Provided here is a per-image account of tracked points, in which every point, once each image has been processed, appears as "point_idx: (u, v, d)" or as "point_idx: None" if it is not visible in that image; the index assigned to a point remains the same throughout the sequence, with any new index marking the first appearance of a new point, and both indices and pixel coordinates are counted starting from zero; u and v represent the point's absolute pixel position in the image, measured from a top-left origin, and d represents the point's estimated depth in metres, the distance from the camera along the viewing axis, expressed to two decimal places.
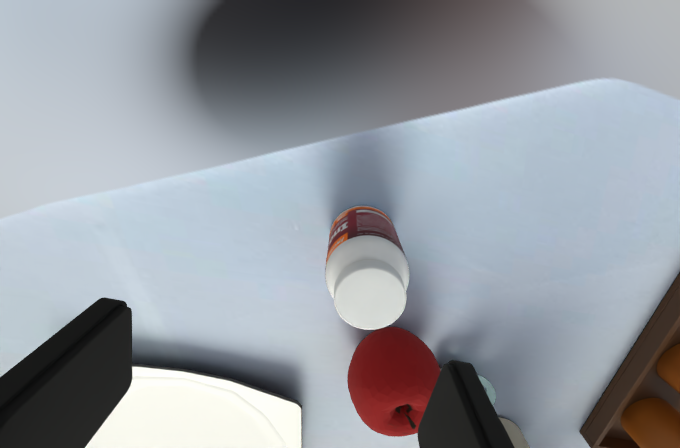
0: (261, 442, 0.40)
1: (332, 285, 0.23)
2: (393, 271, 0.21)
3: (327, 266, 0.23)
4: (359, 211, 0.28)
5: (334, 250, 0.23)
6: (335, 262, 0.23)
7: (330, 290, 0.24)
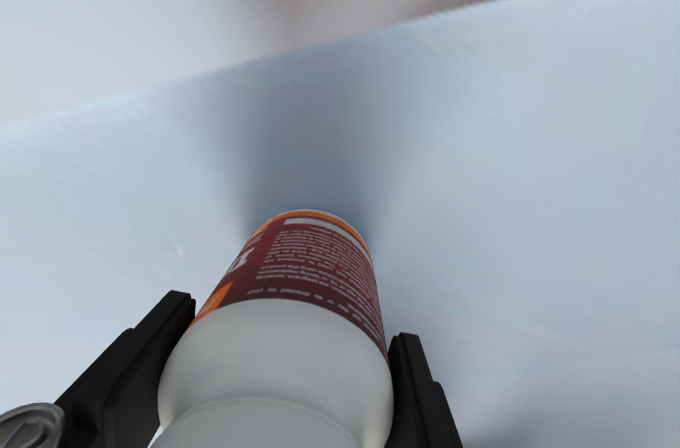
0: None
1: None
2: None
3: (159, 384, 0.08)
4: (290, 222, 0.13)
5: (180, 338, 0.08)
6: (169, 383, 0.08)
7: None
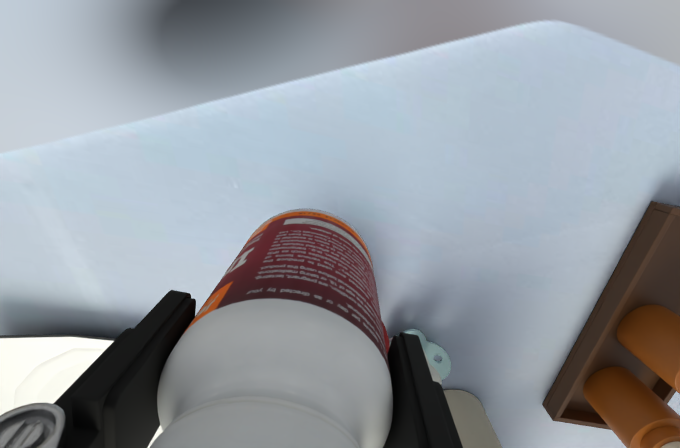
0: None
1: None
2: None
3: (159, 384, 0.08)
4: (289, 222, 0.13)
5: (180, 338, 0.08)
6: (168, 383, 0.08)
7: None
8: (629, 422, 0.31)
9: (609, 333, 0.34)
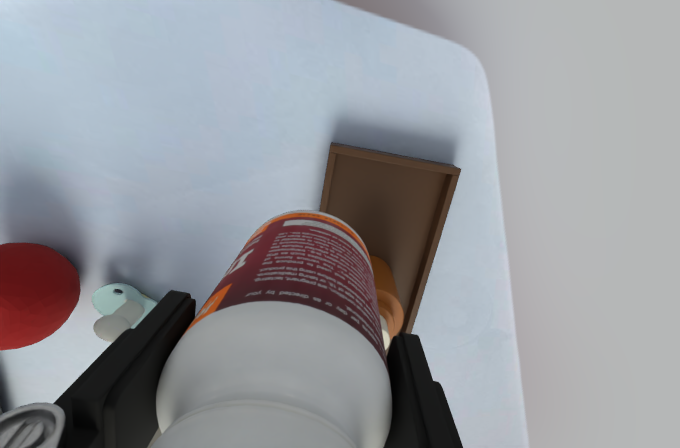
0: None
1: None
2: None
3: (158, 387, 0.08)
4: (289, 224, 0.13)
5: (179, 341, 0.08)
6: (167, 386, 0.08)
7: None
8: None
9: None
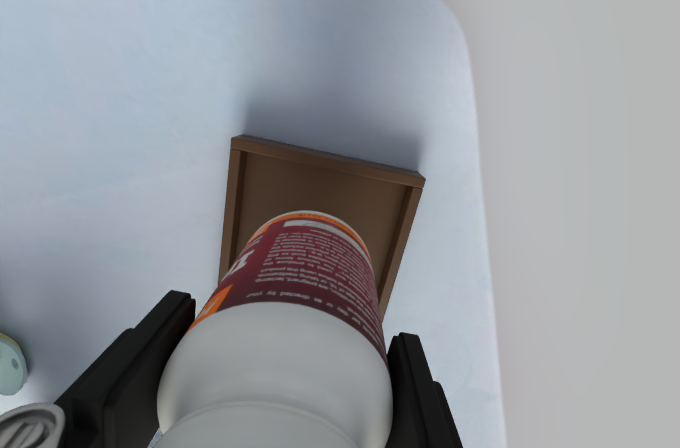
0: None
1: None
2: None
3: (159, 388, 0.08)
4: (289, 224, 0.13)
5: (180, 342, 0.08)
6: (168, 386, 0.08)
7: None
8: None
9: None
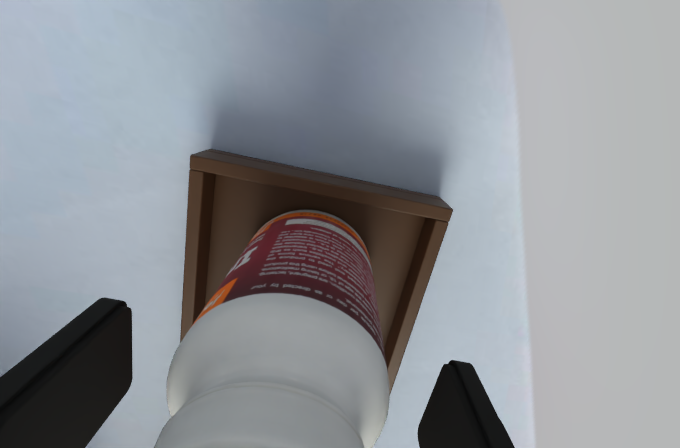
0: None
1: None
2: (325, 437, 0.06)
3: None
4: (291, 222, 0.13)
5: (188, 331, 0.09)
6: (178, 371, 0.08)
7: None
8: None
9: None
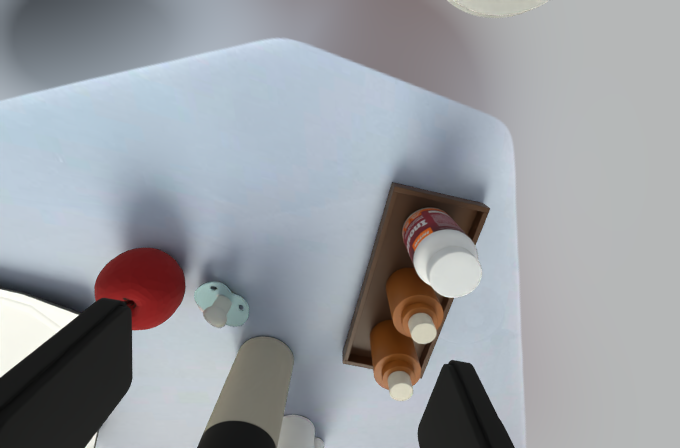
0: None
1: (421, 265, 0.31)
2: (473, 255, 0.29)
3: (417, 251, 0.32)
4: (430, 211, 0.36)
5: (423, 240, 0.32)
6: (425, 248, 0.31)
7: (419, 269, 0.32)
8: (375, 358, 0.39)
9: (380, 291, 0.42)
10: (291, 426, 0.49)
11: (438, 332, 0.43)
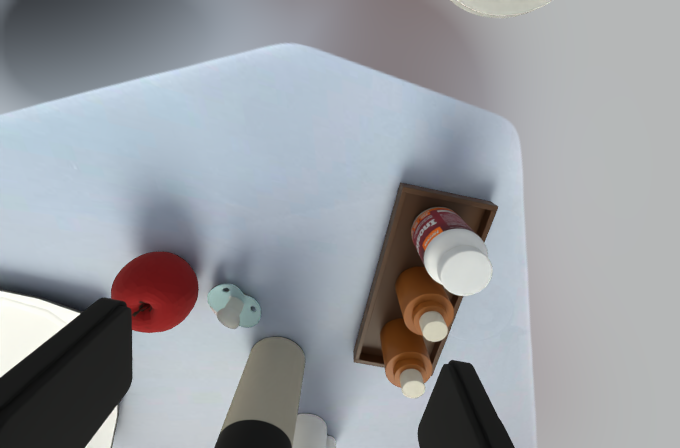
0: None
1: (432, 265, 0.32)
2: (483, 253, 0.29)
3: (428, 251, 0.32)
4: (439, 211, 0.37)
5: (433, 239, 0.32)
6: (436, 248, 0.31)
7: (429, 268, 0.32)
8: (387, 357, 0.40)
9: (390, 290, 0.43)
10: (303, 425, 0.49)
11: (448, 330, 0.43)
